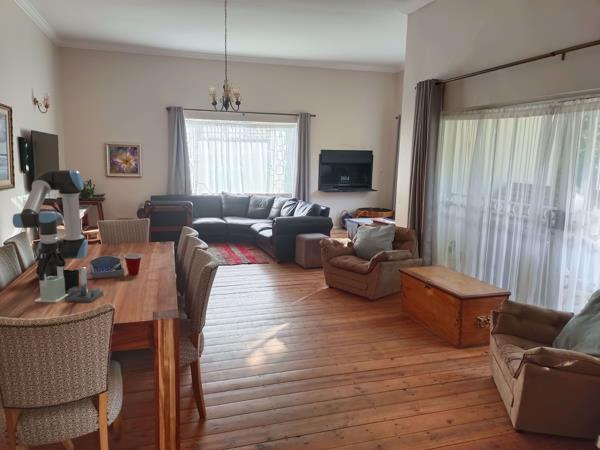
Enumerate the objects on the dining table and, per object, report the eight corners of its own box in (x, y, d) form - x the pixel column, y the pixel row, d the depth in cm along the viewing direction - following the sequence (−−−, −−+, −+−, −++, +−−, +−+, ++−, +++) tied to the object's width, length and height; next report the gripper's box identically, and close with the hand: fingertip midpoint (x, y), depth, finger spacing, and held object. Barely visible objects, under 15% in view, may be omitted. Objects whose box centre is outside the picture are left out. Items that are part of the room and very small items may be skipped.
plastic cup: (136, 276, 271) (136, 257, 269) (121, 275, 273) (120, 256, 271) (146, 272, 281) (145, 253, 280) (131, 271, 283) (130, 253, 282)
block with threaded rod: (64, 300, 223) (62, 270, 220) (78, 293, 235) (76, 264, 232) (90, 301, 222) (89, 271, 219) (103, 294, 233) (101, 265, 231)
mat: (34, 301, 221) (34, 300, 221) (49, 294, 233) (49, 293, 233) (57, 302, 220) (57, 301, 220) (71, 295, 232) (71, 294, 232)
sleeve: (40, 299, 223) (39, 280, 221) (50, 294, 231) (49, 276, 229) (55, 299, 222) (54, 280, 221) (65, 295, 230) (64, 276, 228)
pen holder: (67, 291, 238) (65, 273, 236) (57, 289, 243) (56, 271, 241) (83, 287, 246) (82, 270, 244) (73, 285, 251) (72, 268, 249)
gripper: (40, 247, 209) (43, 290, 213) (71, 237, 234) (73, 276, 237) (25, 246, 210) (28, 289, 214) (57, 237, 235) (60, 275, 238)
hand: (52, 282), depth 226 cm, fingers open, 13 cm apart
